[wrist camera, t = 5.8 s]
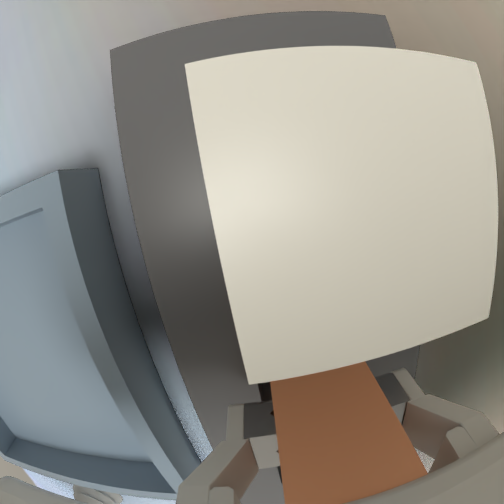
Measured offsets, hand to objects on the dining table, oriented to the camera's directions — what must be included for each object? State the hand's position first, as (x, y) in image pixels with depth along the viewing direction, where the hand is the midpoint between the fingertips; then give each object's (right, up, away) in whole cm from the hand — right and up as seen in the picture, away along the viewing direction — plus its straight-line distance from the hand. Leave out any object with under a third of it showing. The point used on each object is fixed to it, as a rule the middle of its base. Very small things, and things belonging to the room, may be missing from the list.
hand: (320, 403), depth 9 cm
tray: (-16, -2, +4) cm, 17 cm away
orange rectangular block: (0, +1, +4) cm, 4 cm away
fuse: (-1, +8, +2) cm, 8 cm away
